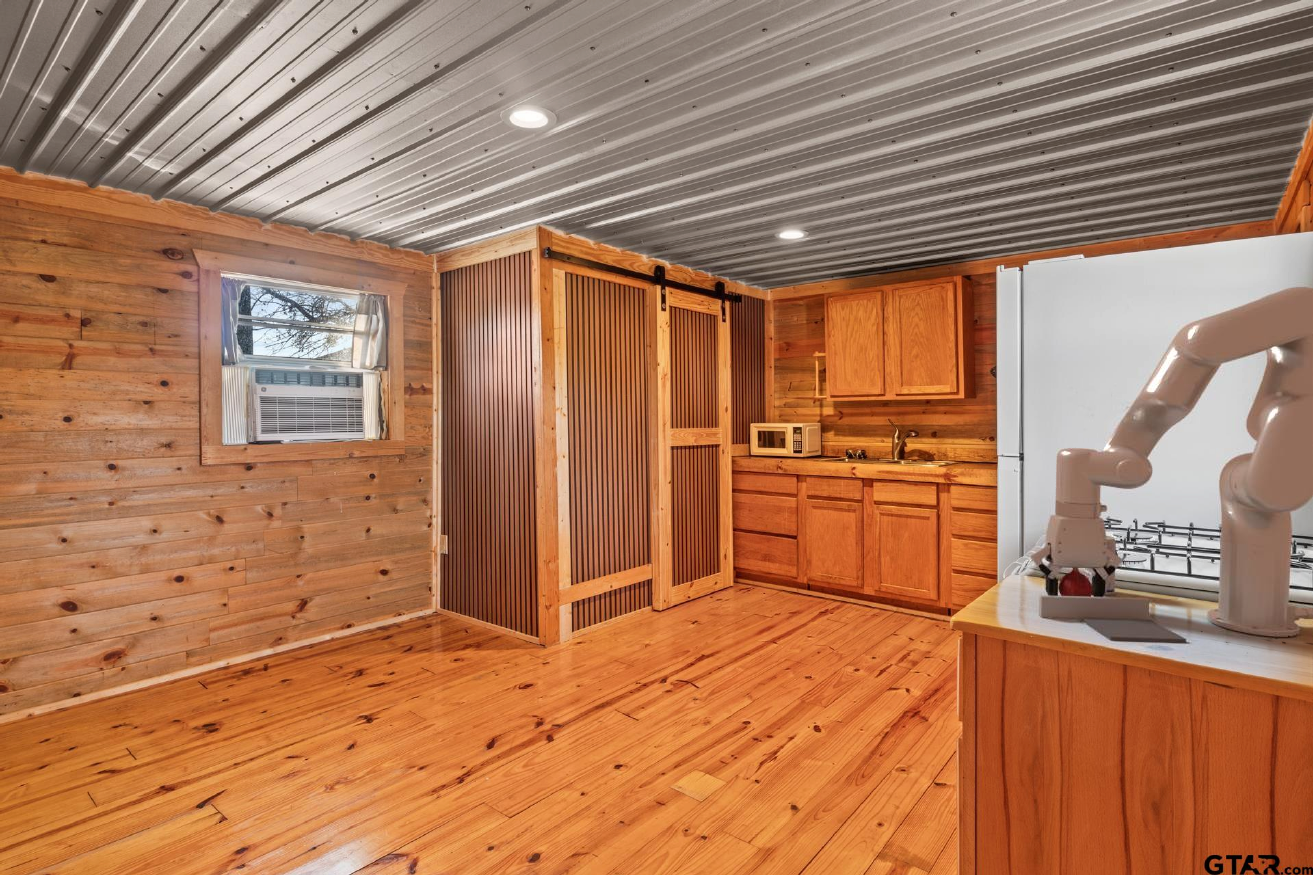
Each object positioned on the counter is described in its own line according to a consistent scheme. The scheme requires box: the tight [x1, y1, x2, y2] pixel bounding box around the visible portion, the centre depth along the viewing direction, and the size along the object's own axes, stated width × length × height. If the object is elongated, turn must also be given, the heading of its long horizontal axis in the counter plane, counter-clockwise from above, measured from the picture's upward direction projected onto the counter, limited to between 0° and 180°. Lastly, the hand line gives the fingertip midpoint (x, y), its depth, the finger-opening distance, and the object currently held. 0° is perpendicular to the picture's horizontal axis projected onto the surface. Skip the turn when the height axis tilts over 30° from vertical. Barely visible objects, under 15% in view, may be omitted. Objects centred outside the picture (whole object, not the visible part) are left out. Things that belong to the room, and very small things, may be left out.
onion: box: [1058, 568, 1093, 597], centre depth 134 cm, size 6×6×8 cm
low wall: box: [1038, 594, 1150, 620], centre depth 127 cm, size 19×1×4 cm, turn 83°
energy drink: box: [1084, 535, 1117, 596], centre depth 144 cm, size 5×5×12 cm
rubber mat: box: [1081, 618, 1187, 644], centre depth 120 cm, size 12×10×1 cm
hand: (1074, 596), depth 134 cm, fingers open, 7 cm apart
